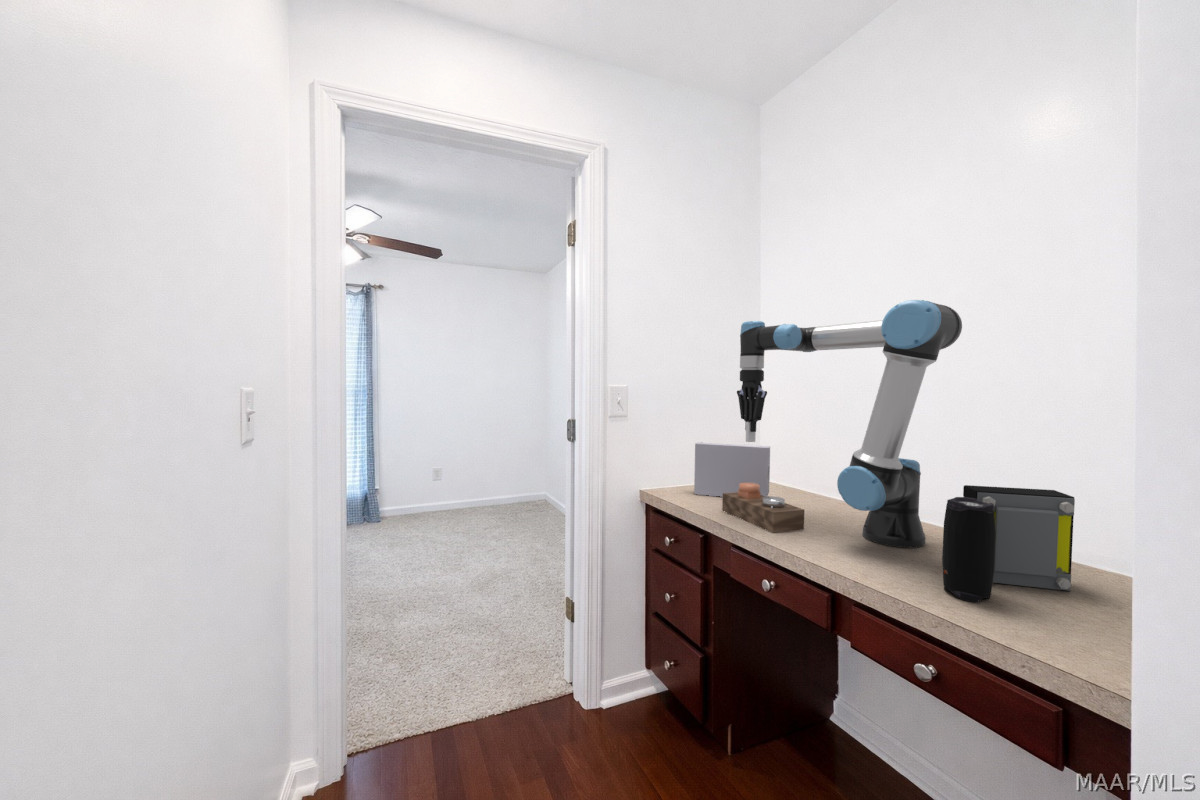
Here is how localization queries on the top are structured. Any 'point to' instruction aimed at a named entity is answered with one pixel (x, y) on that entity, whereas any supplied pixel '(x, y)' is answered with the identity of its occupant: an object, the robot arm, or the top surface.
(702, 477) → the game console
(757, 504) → the wooden base block
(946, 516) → the portable speaker
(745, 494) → the terracotta button
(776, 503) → the metal button
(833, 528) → the top surface
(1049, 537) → the electrical component
